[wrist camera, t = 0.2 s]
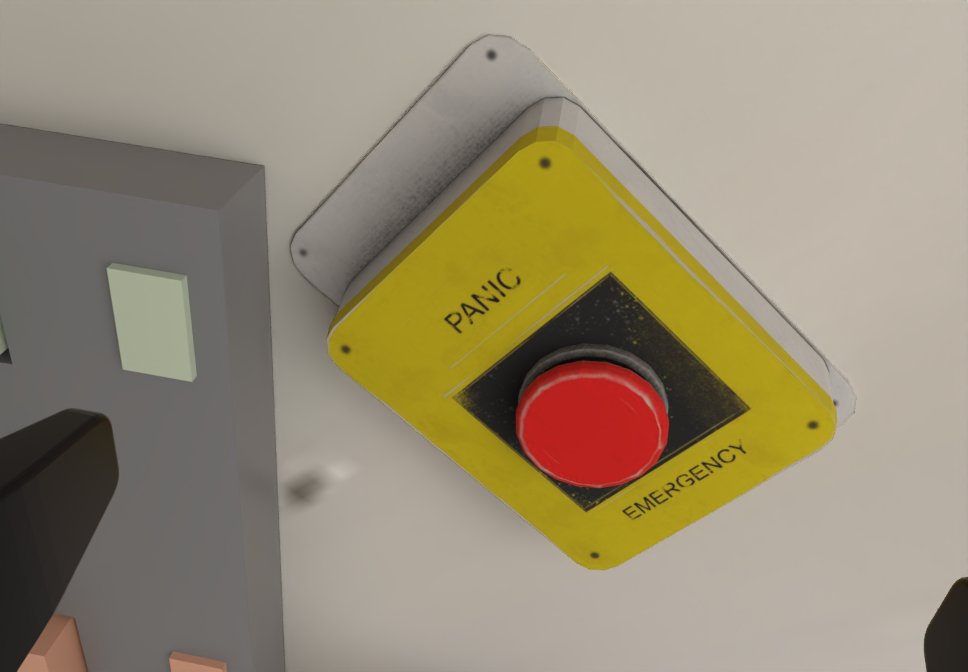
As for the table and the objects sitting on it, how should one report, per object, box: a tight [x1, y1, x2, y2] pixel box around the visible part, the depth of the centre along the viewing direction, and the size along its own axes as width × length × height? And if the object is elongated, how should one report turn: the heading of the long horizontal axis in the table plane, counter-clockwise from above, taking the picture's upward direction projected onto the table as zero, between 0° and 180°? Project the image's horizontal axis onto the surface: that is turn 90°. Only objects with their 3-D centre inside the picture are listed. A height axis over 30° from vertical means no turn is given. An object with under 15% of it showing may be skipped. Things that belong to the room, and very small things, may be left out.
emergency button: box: [290, 35, 857, 570], centre depth 23 cm, size 9×4×15 cm
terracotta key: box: [17, 614, 88, 672], centre depth 31 cm, size 4×4×2 cm
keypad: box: [0, 124, 285, 672], centre depth 29 cm, size 23×14×3 cm, turn 174°
